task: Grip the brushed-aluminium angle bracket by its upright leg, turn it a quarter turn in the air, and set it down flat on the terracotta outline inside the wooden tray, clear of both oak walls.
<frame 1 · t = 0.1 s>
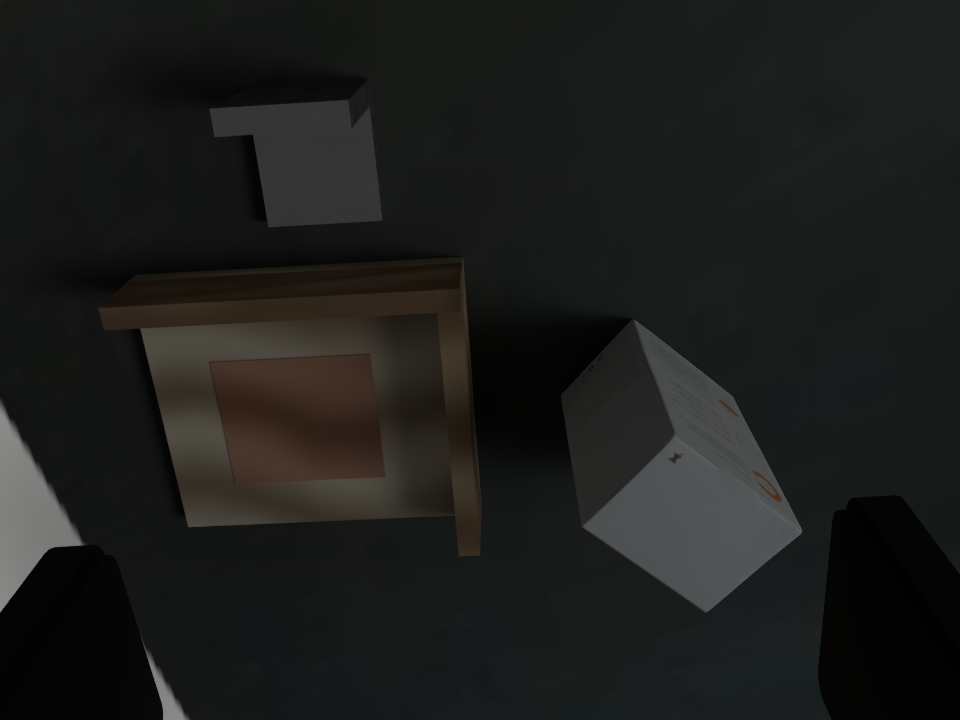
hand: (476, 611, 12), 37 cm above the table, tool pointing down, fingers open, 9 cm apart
small box: (645, 394, 51), on the table
bracket: (319, 152, 46), on the table
wooden tray: (318, 396, 52), on the table
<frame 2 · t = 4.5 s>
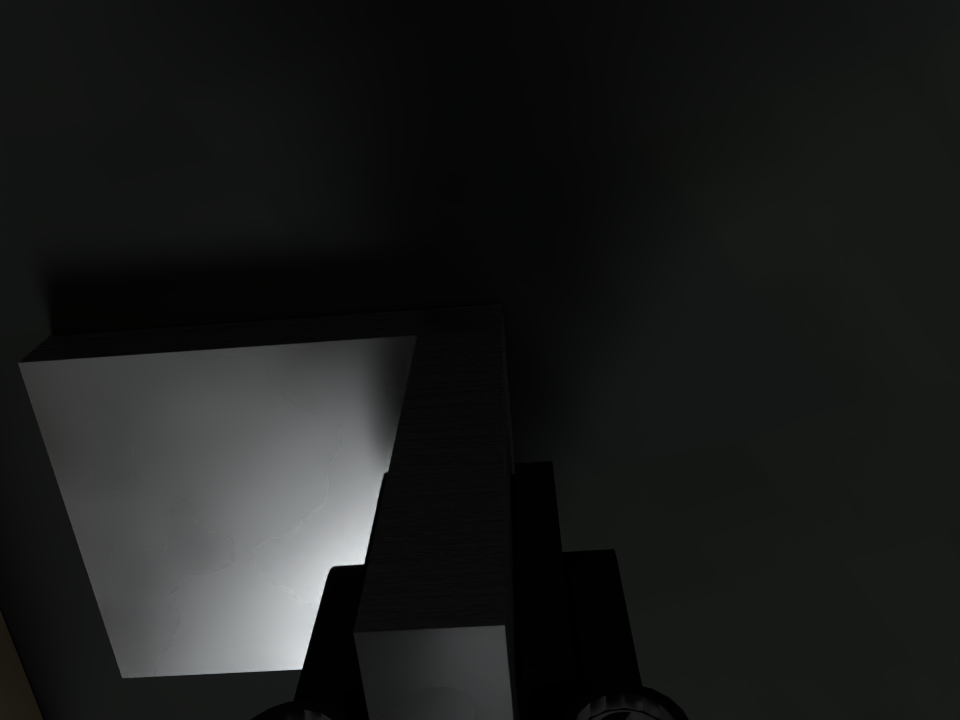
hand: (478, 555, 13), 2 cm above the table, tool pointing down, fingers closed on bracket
bracket: (305, 486, 15), on the table, touching gripper
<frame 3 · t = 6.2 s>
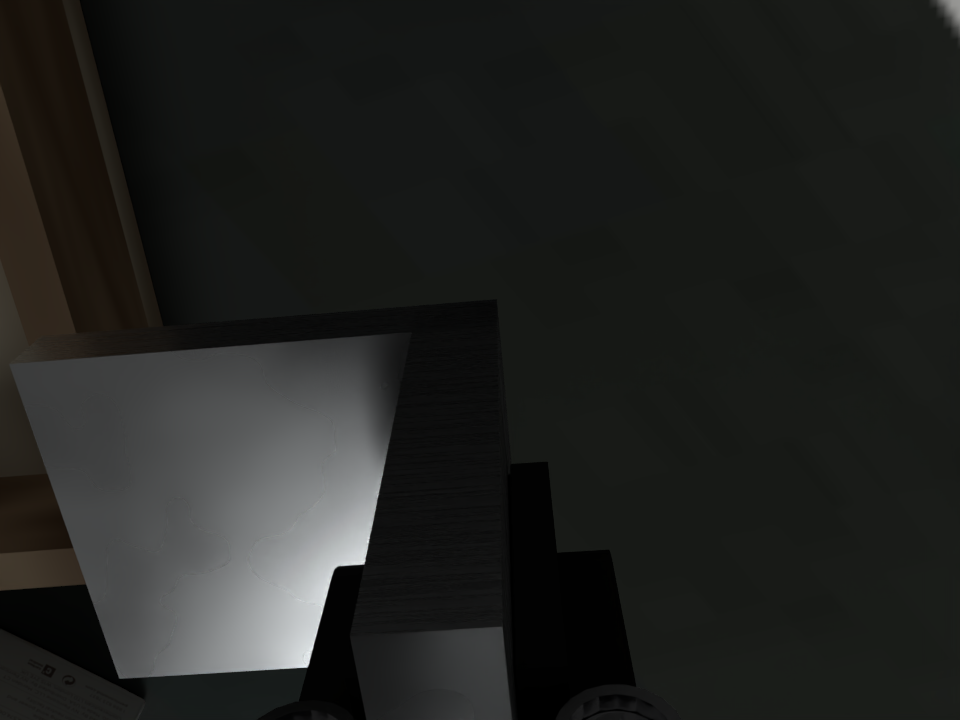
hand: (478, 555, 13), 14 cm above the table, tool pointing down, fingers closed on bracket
small box: (25, 719, 33), on the table
bracket: (301, 484, 15), point 12 cm above the table, touching gripper
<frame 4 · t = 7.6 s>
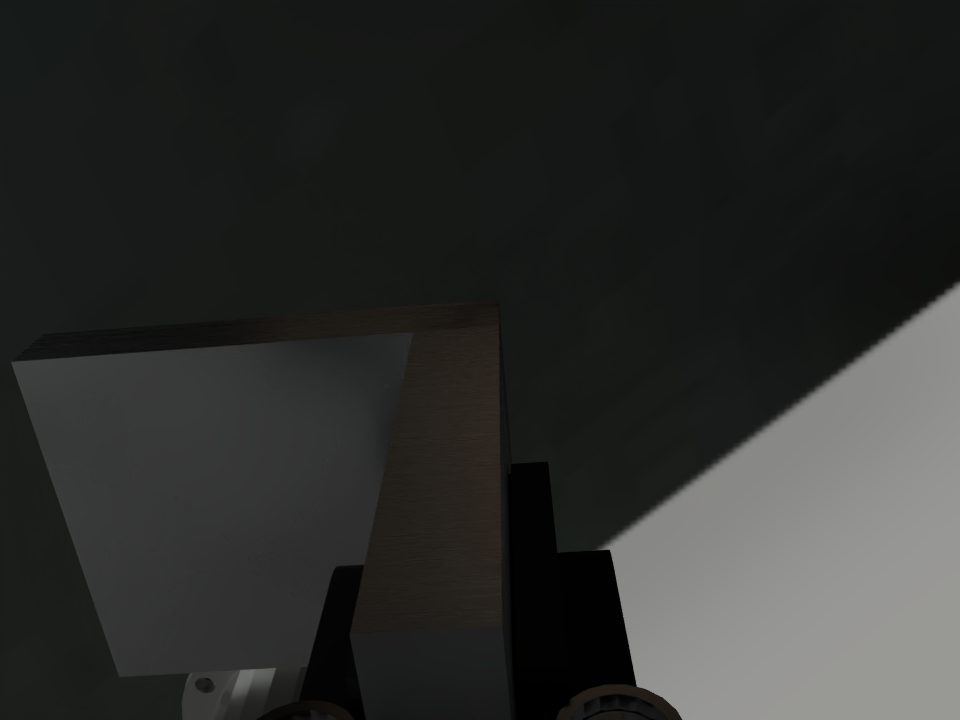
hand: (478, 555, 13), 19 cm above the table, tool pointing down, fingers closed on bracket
bracket: (301, 484, 15), point 17 cm above the table, touching gripper
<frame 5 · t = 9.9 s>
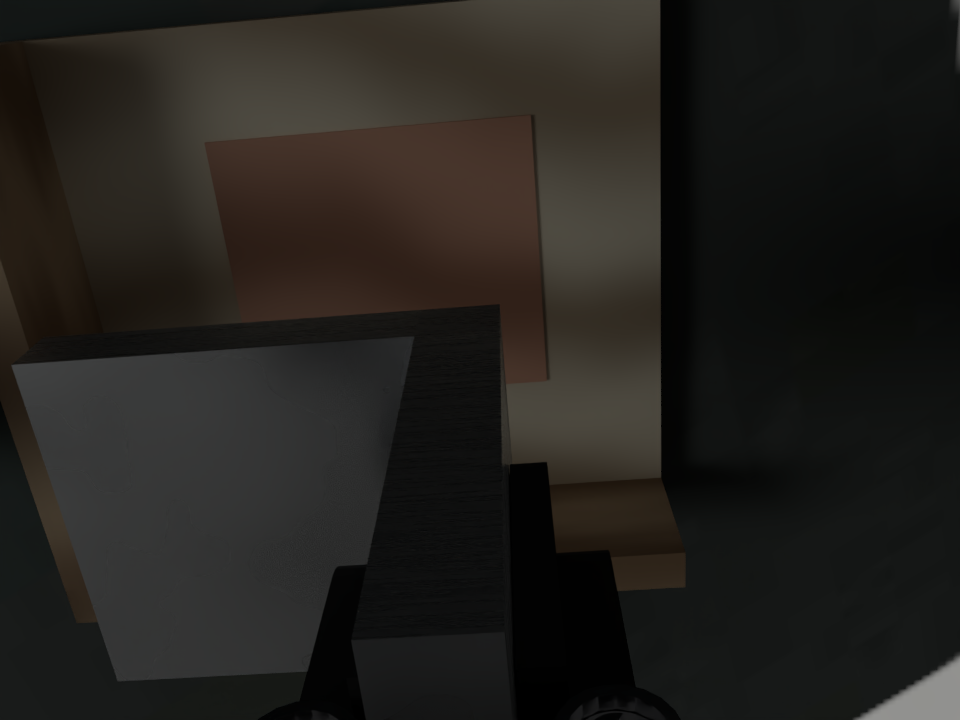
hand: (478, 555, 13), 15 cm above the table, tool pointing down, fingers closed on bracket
bracket: (301, 488, 15), point 13 cm above the table, touching gripper
wooden tray: (361, 290, 27), on the table
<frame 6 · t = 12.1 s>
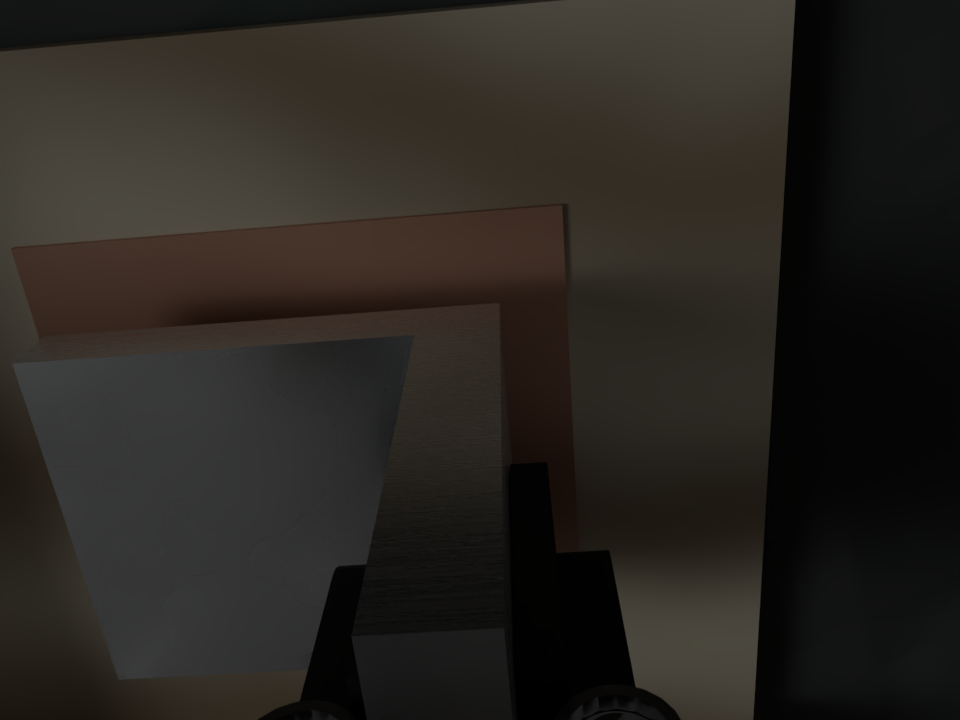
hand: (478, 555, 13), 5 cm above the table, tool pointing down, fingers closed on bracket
bracket: (302, 487, 15), point 2 cm above the table, touching gripper
wooden tray: (289, 462, 17), on the table
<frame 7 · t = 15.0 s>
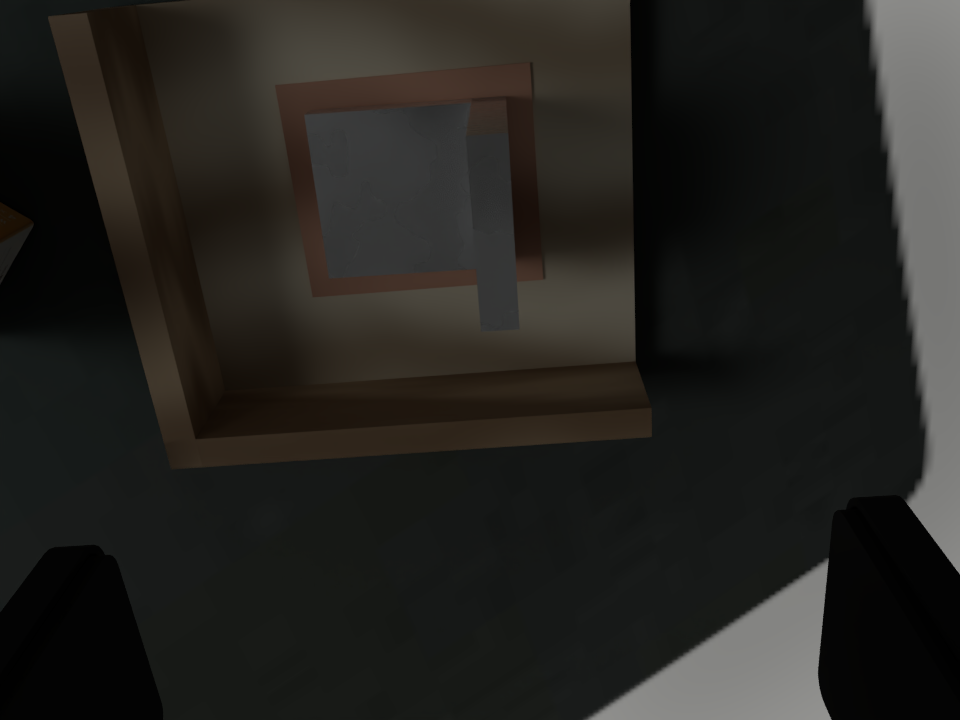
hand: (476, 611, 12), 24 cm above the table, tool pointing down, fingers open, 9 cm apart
bracket: (415, 186, 33), point 1 cm above the table, touching wooden tray
wooden tray: (394, 207, 34), on the table
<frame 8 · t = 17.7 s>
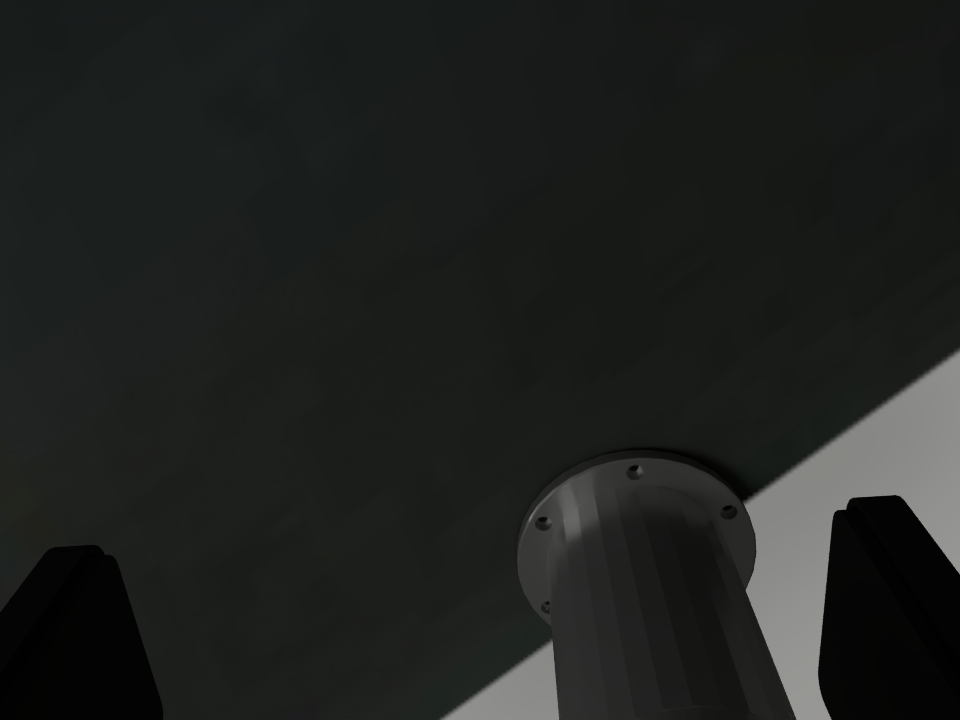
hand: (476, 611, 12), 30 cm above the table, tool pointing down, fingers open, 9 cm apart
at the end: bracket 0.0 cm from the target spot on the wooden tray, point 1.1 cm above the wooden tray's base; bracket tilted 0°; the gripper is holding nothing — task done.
